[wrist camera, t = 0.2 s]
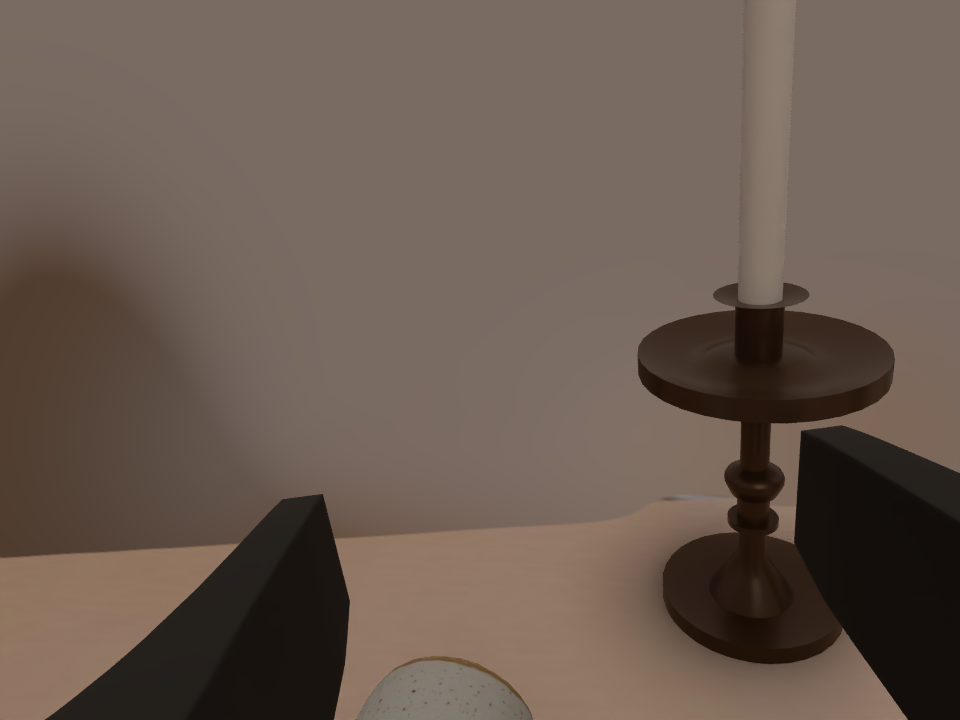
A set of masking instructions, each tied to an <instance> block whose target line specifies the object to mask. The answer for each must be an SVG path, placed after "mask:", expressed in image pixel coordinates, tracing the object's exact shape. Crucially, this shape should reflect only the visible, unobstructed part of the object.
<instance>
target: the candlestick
mask: <svg viewBox="0 0 960 720" xmlns="http://www.w3.org/2000/svg"><path fill="white" fill-rule="evenodd" d="M795 14H796V0H744V20H743V68H742V117H741V118H742V119H741V121H742V122H741V166H740V167H741V168H740V217H739V265H738V283H736V284H731V285H727V286H724V287H722V288H719V289H718V290H716V291H715V292H714V294H713V296H714V298H715V300H717V301H719V302H721V303H723V304H726V305H729V306H734V307H735V310H734V311H723V312H714V313H708V314H703V315H697V316H692V317H688V318H684V319H680V320H677V321H674V322H672V323H669V324H666V325H663V326H662V327H660V328H658V329H656V330H654V331H652V332H651V333H650V334H648V335H647V336H646V337H645V338H644V339H643V340H642V342H641V343H640V345H639V347H638V375H639V377H640V380H641V382H642V384H643V385H644V386H645V387H646V388H647V389H648V390H649V391H650V392H651V393H652V394H653V395H655V396H657V397H658V398H660V399H661V400H663V401H664V402H667V403H669V404H671V405H674V406H676V407H679V408H681V409H683V410H687V411H690V412H694V413H697V414H701V415H704V416H709V417H715V418H720V419H725V420H731V421H741V450H740V460H738V461H735V462H733V463H731V464H730V465H729V466H728V467H727V469H726V470H725V474H724V478H725V482H726V484H727V486H728V488H729V490H730V491H731V493H732V494H733V495H734V496H735V497H736V498H737V505H735V506H733V507H731V508H730V509H729V511H728V523H729V525H730V526H731V527H732V528H733V529H734V530H736V531H737V532H738V533H735V532H734V533H720V534H714V535H709V536H705V537H702V538H699V539H696V540H693V541H691V542H689V543H687V544H686V545H684V546H682V547H681V548H680V549H678V550H677V551H676V552H675V553H674V554H673V555H672V556H671V558H670V559H669V560H668V562H667V563H666V566H665V569H664V572H663V598H664V601H665V605H666V608H667V610H668V612H669V614H670V615H671V617H672V619H673V620H674V622H675V623H676V624H677V625H678V626H679V627H680V628H681V629H682V630H683V631H684V632H685V633H686V634H687V635H689V636H690V637H691V638H693V639H694V640H695V641H697V642H698V643H700V644H702V645H704V646H706V647H707V648H709V649H711V650H713V651H716V652H718V653H721V654H724V655H726V656H729V657H732V658H736V659H741V660H745V661H749V662H759V663H789V662H794V661H798V660H803V659H807V658H809V657H812V656H814V655H816V654H819V653H821V652H822V651H824V650H825V649H827V648H828V647H829V646H831V645H832V644H833V643H834V642H835V640H836V639H837V638H838V636H839V635H840V634H841V631H842V628H843V627H842V626H841V624H840V623H839V622H838V620H837V619H836V617H835V616H834V614H833V613H832V611H831V610H830V608H829V607H828V605H827V604H826V603H825V601H824V599H823V597H822V595H821V594H820V592H819V590H818V588H817V586H816V584H815V583H814V581H813V579H812V577H811V575H810V573H809V571H808V569H807V567H806V565H805V563H804V561H803V559H802V557H801V555H800V553H799V551H798V549H797V547H796V545H794V544H792V543H789V542H786V541H784V540H781V539H777V538H773V537H770V536H766V535H769V534H771V533H773V532H775V531H776V530H777V528H778V524H779V518H778V515H777V513H776V512H775V511H774V510H772V509H771V508H770V501H772V500H773V499H775V498H776V496H777V495H778V494H779V492H780V491H781V490H782V488H783V486H784V481H785V477H784V474H783V472H782V471H781V469H780V468H779V467H778V466H776V465H775V464H773V463H771V462H769V457H770V432H771V423H797V422H810V421H818V420H824V419H829V418H834V417H840V416H844V415H847V414H850V413H853V412H856V411H859V410H862V409H864V408H866V407H868V406H870V405H872V404H874V403H876V402H878V401H879V400H880V399H881V398H882V397H883V396H884V395H885V394H886V393H887V392H888V391H889V389H890V386H891V384H892V379H893V371H894V362H895V358H894V352H893V349H892V348H891V347H890V345H889V344H888V343H887V341H885V340H884V339H882V338H881V337H880V336H878V335H877V334H875V333H874V332H872V331H870V330H867V329H865V328H863V327H861V326H859V325H855V324H852V323H850V322H847V321H844V320H840V319H836V318H831V317H827V316H823V315H816V314H810V313H804V312H794V311H785V307H787V306H791V305H795V304H798V303H801V302H803V301H805V300H806V299H807V298H808V297H809V292H808V291H807V290H806V289H804V288H802V287H800V286H797V285H793V284H788V283H783V279H784V256H785V235H786V233H785V232H786V211H787V190H788V168H789V166H788V165H789V146H790V124H791V101H792V80H793V58H794V35H795Z"/></svg>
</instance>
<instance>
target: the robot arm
mask: <svg viewBox="0 0 960 720" xmlns="http://www.w3.org/2000/svg"><path fill="white" fill-rule="evenodd" d="M799 459H800V460H799V474H798V490H797V505H796V521H795V537H794V543H795V545H796V547H797V549H798V551H799V553H800V555H801V557H802V559H803V561H804V563H805V565H806V567H807V569H808V571H809V573H810V575H811V577H812V579H813V581H814V583H815V584H816V586H817V588H818V590H819V592H820V594H821V595H822V597H823V599H824V601H825V603H826V604H827V605H828V607H829V608H830V610H831V611H832V613H833V614H834V616H835V617H836V619H837V620H838V622H839V623H840V624H841V626H842V627H843V629H844V630H845V632H846V633H847V634H848V636H849V637H850V639H851V640H852V642H853V643H854V644H855V646H856V647H857V649H858V650H859V652H860V653H861V654H862V656H863V657H864V659H865V660H866V661H867V663H868V664H869V666H870V667H871V668H872V670H873V671H874V673H875V674H876V675H877V677H878V678H879V680H880V681H881V682H882V684H883V685H884V687H885V688H886V689H887V691H888V692H889V694H890V695H891V696H892V698H893V699H894V701H895V702H896V704H897V705H898V706H899V708H900V709H901V711H902V712H903V713H904V715H905V716H906V718H907V719H908V720H960V473H958V472H955V471H953V470H951V469H949V468H946V467H944V466H942V465H939V464H937V463H935V462H932V461H930V460H928V459H925V458H923V457H921V456H918V455H916V454H914V453H911V452H909V451H907V450H904V449H902V448H899V447H897V446H895V445H893V444H890V443H888V442H885V441H883V440H881V439H878V438H875V437H873V436H870V435H868V434H866V433H863V432H860V431H857V430H855V429H852V428H849V427H846V426H834V427H827V428H820V429H811V430H804V431H801V442H800V458H799ZM349 605H350V600H349V596H348V592H347V588H346V584H345V580H344V576H343V572H342V568H341V564H340V560H339V556H338V552H337V548H336V544H335V540H334V537H333V533H332V529H331V525H330V521H329V517H328V513H327V509H326V505H325V502H324V498H323V494H319V495H312V496H304V497H298V498H289V499H283V500H281V501H280V502H279V504H277V505H276V506H275V507H274V508H273V509H272V510H271V511H270V512H269V513H268V514H267V516H266V517H265V518H264V519H263V520H262V521H261V522H260V523H259V524H258V525H257V526H256V527H255V528H254V529H253V530H252V531H251V532H250V534H249V535H248V536H247V537H246V538H245V539H244V540H243V541H242V542H241V543H240V544H239V545H238V546H237V547H236V549H235V550H234V551H233V552H232V553H231V554H230V555H229V556H228V557H227V558H226V559H225V560H224V561H223V562H222V563H221V564H220V565H219V566H218V567H217V568H216V569H215V570H214V571H213V573H212V574H211V575H210V576H209V577H208V578H207V579H206V580H205V581H204V582H203V583H202V584H201V585H200V586H199V587H198V588H197V589H196V590H195V591H194V592H193V593H192V594H191V595H190V596H189V597H188V598H187V599H185V600H184V601H183V602H182V603H181V604H180V605H179V606H178V607H177V608H176V609H175V610H174V611H173V612H172V613H171V614H170V615H169V616H168V617H167V618H166V619H165V620H163V621H162V622H161V623H160V624H159V625H158V626H157V627H156V628H155V629H154V630H153V631H152V632H151V633H150V634H149V635H148V636H147V637H146V638H145V639H144V640H142V641H141V642H140V643H139V644H138V645H137V646H136V647H134V648H133V649H132V650H131V651H130V652H129V653H128V654H127V655H125V656H124V657H123V658H122V659H121V660H120V661H118V662H117V663H116V664H115V665H114V666H113V667H111V668H110V669H109V670H108V671H107V672H105V673H104V674H103V675H102V676H100V677H99V678H98V679H97V680H95V681H94V682H93V683H92V684H90V685H89V686H88V687H87V688H86V689H84V690H83V691H82V692H81V693H79V694H78V695H77V696H76V697H74V698H73V699H72V700H71V701H69V702H68V703H67V704H65V705H64V706H63V707H62V708H60V709H59V710H58V711H56V712H55V713H54V714H52V715H51V716H49V717H48V718H47V719H45V720H334V716H335V711H336V706H337V701H338V696H339V691H340V686H341V682H342V676H343V671H344V666H345V657H346V646H347V635H348V620H349Z"/></svg>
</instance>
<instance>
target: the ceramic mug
mask: <svg viewBox="0 0 960 720" xmlns="http://www.w3.org/2000/svg"><path fill="white" fill-rule="evenodd" d="M356 720H533V718H532V715H531V713H530V711H529V709H528V707H527V705H526V704H525V702H524V701H523V699H522V698H521V696H520V695H519V694H518V693H517V692H516V690H515V689H514V688H513V687H512V686H511V685H510V684H509V683H508V682H506V681H505V680H504V679H502V678H501V677H500V676H498V675H497V674H495V673H493V672H491V671H490V670H488V669H486V668H484V667H483V666H481V665H479V664H477V663H473V662H470V661H467V660H463V659H460V658H452V657H437V656H432V657H426V658H420V659H414V660H412V661H409V662H407V663H405V664H403V665H401V666H399V667H397V668H395V669H394V670H393V671H392V672H391V673H389V674H388V675H387V676H386V677H385V678H384V679H383V680H382V681H381V682H380V683H379V684H378V686H377V687H376V688H375V689H374V691H373V692H372V693H371V695H370V696H369V698H368V699H367V701H366V702H365V704H364V706H363V708H362V709H361V711H360V713H359V715H358V717H357V718H356Z"/></svg>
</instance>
